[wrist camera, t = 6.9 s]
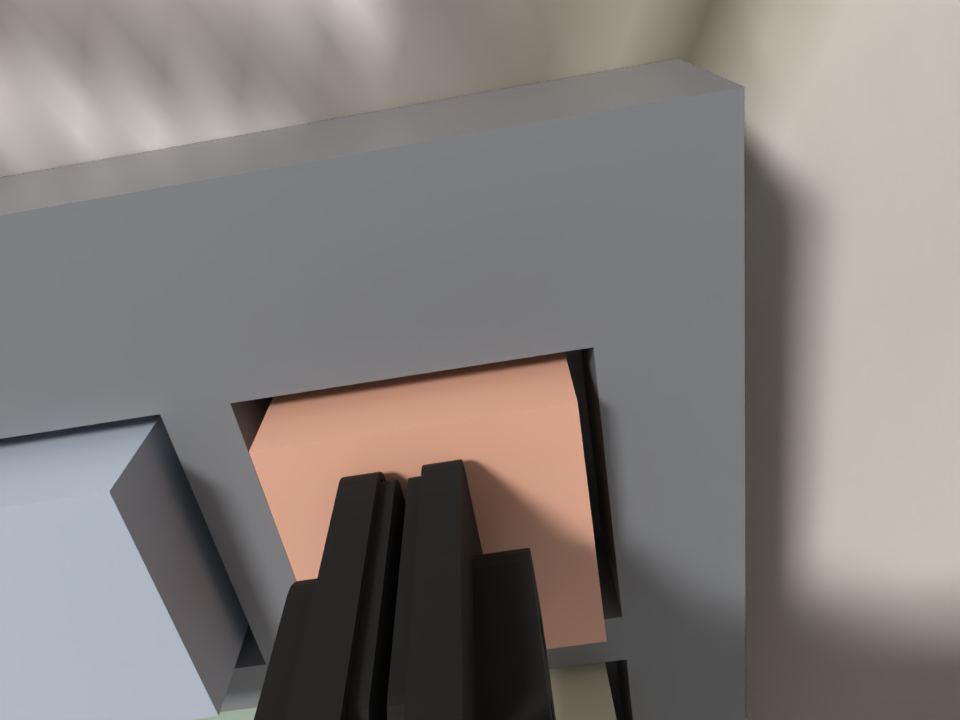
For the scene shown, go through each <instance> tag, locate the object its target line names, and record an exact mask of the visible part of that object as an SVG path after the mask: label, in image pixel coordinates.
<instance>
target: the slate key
mask: <svg viewBox="0 0 960 720" xmlns="http://www.w3.org/2000/svg"><path fill="white" fill-rule="evenodd" d="M248 625H249V623H248V621H247V618H246V616H245V614H244V611H243V609H242V606H241V604H240V602H239V599H238V597H237V595H236V592H235V590H234V588H233V585H232V583H231V581H230V578H229V576H228V573H227V571H226V569H225V566H224V564H223V562H222V559H221V557H220V555H219V552H218V550H217V547H216V545H215V543H214V540H213V538H212V536H211V533H210V531H209V529H208V526H207V524H206V522H205V519H204V517H203V514H202V512H201V510H200V507H199V505H198V503H197V500H196V498H195V496H194V493H193V491H192V488H191V486H190V484H189V481H188V479H187V477H186V474H185V472H184V470H183V467H182V465H181V462H180V460H179V458H178V455H177V453H176V451H175V448H174V446H173V444H172V441H171V439H170V437H169V434H168V432H167V429H166V427H165V425H164V422H163V420H162V418H161V415H160V414H158V415H152V416H145V417H139V418H132V419H126V420H119V421H113V422H106V423H100V424H93V425H87V426H80V427H74V428H67V429H61V430H54V431H48V432H41V433H35V434H29V435H22V436H16V437H9V438H3V439H0V720H193V719H200V718H208V717H216V716H219V714H220V711H221V708H222V704H223V701H224V698H225V695H226V692H227V689H228V686H229V683H230V680H231V677H232V674H233V671H234V668H235V665H236V662H237V659H238V656H239V653H240V650H241V646H242V643H243V640H244V637H245V634H246V631H247V628H248Z"/></svg>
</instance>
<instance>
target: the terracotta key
mask: <svg viewBox="0 0 960 720" xmlns="http://www.w3.org/2000/svg"><path fill="white" fill-rule="evenodd" d="M249 454H250V457H251V459H252V462H253V465H254V467H255V470H256V473H257V476H258V478H259V481H260V484H261V486H262V489H263V492H264V494H265V497H266V500H267V503H268V505H269V508H270V511H271V513H272V516H273V519H274V521H275V524H276V527H277V530H278V532H279V535H280V538H281V540H282V543H283V546H284V549H285V551H286V554H287V557H288V559H289V562H290V565H291V567H292V570H293V573H294V576H295V578H296V581H302V580H309V579H316V578H317V577H318V573H319V569H320V564H321V560H322V555H323V551H324V546H325V542H326V538H327V533H328V529H329V524H330V520H331V516H332V511H333V507H334V502H335V498H336V493H337V489H338V485H339V481H340V479H341V478H342V477H347V476H354V475H360V474H367V473H374V472H382V473H383V475H384V477H385V479H386V481H391V480H398V481H399V483H400V486H401V489H402V493H403V496H404V500H405V504H406V494H407V483H408V479H409V478H411V477H417V476H421V469H422V466H423V465H426V464H433V463H439V462H446V461H453V460H459V459H462V461H463V464H464V468H465V472H466V477H467V481H468V486H469V491H470V496H471V500H472V505H473V510H474V514H475V519H476V524H477V528H478V533H479V538H480V543H481V547H482V552H483V554H488V553H495V552H502V551H509V550H516V549H523V548H529V547H530V551H531V556H532V561H533V567H534V572H535V578H536V584H537V590H538V596H539V602H540V608H541V615H542V621H543V628H544V635H545V642H546V649H552V648H560V647H568V646H575V645H583V644H590V643H598V642H606V641H607V639H606V631H605V623H604V615H603V607H602V598H601V590H600V582H599V574H598V566H597V557H596V549H595V541H594V533H593V524H592V516H591V508H590V500H589V492H588V483H587V475H586V467H585V459H584V450H583V442H582V434H581V426H580V418H579V409H578V402H577V398H576V394H575V390H574V387H573V383H572V379H571V375H570V371H569V367H568V364H567V360H566V356H565V352H560V353H553V354H547V355H540V356H534V357H527V358H521V359H514V360H508V361H501V362H495V363H488V364H482V365H475V366H469V367H462V368H456V369H450V370H443V371H437V372H430V373H424V374H417V375H411V376H404V377H398V378H391V379H385V380H378V381H372V382H365V383H359V384H352V385H346V386H339V387H333V388H326V389H320V390H314V391H307V392H301V393H294V394H288V395H281V396H275V397H273V399H272V401H271V403H270V405H269V408H268V410H267V412H266V414H265V417H264V419H263V421H262V423H261V426H260V428H259V430H258V432H257V435H256V437H255V439H254V441H253V444H252V446H251V448H250V450H249Z"/></svg>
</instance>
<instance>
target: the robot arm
mask: <svg viewBox="0 0 960 720" xmlns="http://www.w3.org/2000/svg"><path fill="white" fill-rule="evenodd" d="M254 720H556V718H555V710H554V702H553V695H552V687H551V679H550V672H549V664H548V657H547V649H546V642H545V635H544V628H543V621H542V615H541V608H540V602H539V596H538V590H537V584H536V578H535V572H534V567H533V561H532V556H531V551H530V547H529V548H523V549H516V550H509V551H502V552H495V553H488V554H483V552H482V547H481V543H480V538H479V533H478V528H477V524H476V519H475V514H474V510H473V505H472V500H471V496H470V491H469V486H468V481H467V477H466V472H465V468H464V464H463V461H462V459H459V460H453V461H446V462H439V463H433V464H426V465H423V466H422V469H421V476H417V477H411V478H409V479H408V483H407V494H406V504H405V500H404V496H403V493H402V489H401V486H400V483H399V481H398V480H391V481H386V479H385V477H384V475H383V473H382V472H374V473H367V474H360V475H354V476H347V477H342V478H341V479H340V481H339V485H338V489H337V493H336V498H335V502H334V507H333V511H332V516H331V520H330V524H329V529H328V533H327V538H326V542H325V546H324V551H323V555H322V560H321V564H320V569H319V573H318V577H317V578H316V579H309V580H302V581H295V582H294V583H293V584H292V585H291V587H290V589H289V592H288V594H287V598H286V601H285V605H284V609H283V612H282V616H281V620H280V624H279V627H278V631H277V635H276V639H275V642H274V646H273V650H272V654H271V657H270V661H269V665H268V668H267V672H266V676H265V680H264V683H263V687H262V691H261V695H260V698H259V702H258V706H257V709H256V713H255V717H254Z"/></svg>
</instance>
